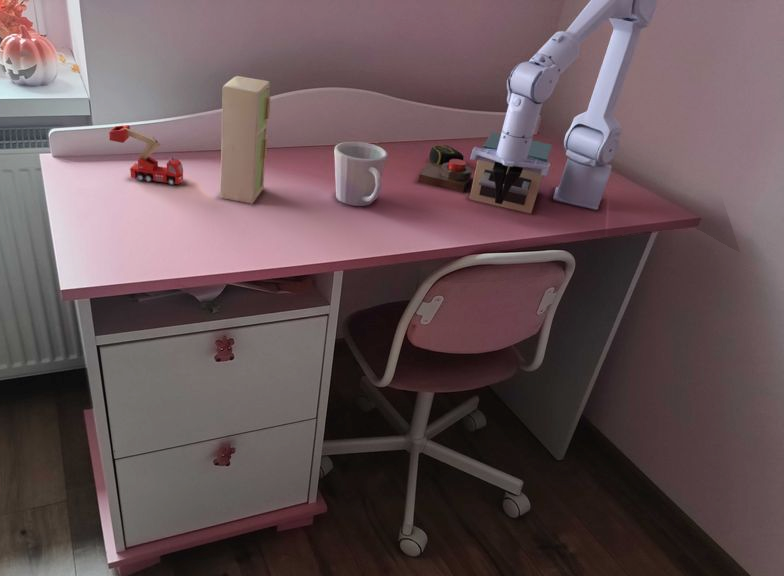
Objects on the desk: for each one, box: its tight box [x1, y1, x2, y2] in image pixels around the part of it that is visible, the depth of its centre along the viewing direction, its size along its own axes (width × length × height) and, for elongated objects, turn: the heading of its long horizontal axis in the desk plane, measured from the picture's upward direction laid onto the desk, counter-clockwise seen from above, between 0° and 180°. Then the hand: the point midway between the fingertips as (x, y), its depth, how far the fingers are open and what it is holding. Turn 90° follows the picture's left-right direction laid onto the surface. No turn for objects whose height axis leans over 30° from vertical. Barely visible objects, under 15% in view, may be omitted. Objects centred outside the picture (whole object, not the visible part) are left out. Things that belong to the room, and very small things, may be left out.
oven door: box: [469, 160, 544, 214], centre depth 135 cm, size 5×13×11 cm, turn 69°
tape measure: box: [428, 144, 465, 165], centre depth 156 cm, size 7×7×4 cm
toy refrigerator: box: [220, 75, 271, 204], centre depth 125 cm, size 8×7×21 cm
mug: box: [333, 141, 389, 207], centre depth 131 cm, size 10×15×10 cm
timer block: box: [417, 161, 473, 193], centre depth 148 cm, size 10×9×4 cm
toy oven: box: [482, 131, 553, 204], centre depth 142 cm, size 11×13×11 cm
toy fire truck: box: [108, 124, 184, 186], centre depth 130 cm, size 3×14×10 cm, turn 84°
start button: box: [448, 159, 467, 172], centre depth 146 cm, size 4×4×2 cm
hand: (498, 202), depth 131 cm, fingers closed
